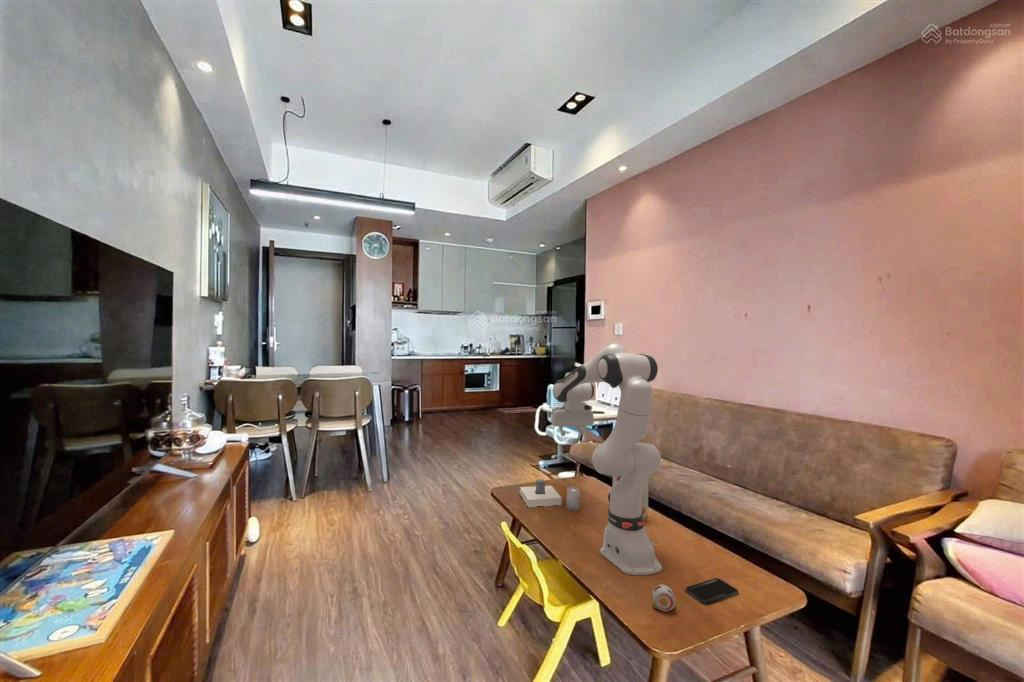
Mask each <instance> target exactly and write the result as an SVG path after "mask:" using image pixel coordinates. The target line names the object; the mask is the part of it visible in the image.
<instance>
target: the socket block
mask: <svg viewBox="0 0 1024 682" xmlns="http://www.w3.org/2000/svg"><path fill="white" fill-rule="evenodd" d="M520 494H521V495H520ZM519 495H520V497H521V496H522V497H521V498H523V499H522V500H523V502H524V501H525V502H524V503H526V504H525V506H526V507H527V506H528V507H527V508H538V507H537V506H544V507H554V506H553V505H559V506H562V502H563V501H562V499H563V497H562V496H561V495H560V494H559V493H558V491H556V489H555V488H554V487H553V486H552V485H545V494H536V485H535V486H519Z"/></svg>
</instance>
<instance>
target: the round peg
mask: <svg viewBox="0 0 1024 682" xmlns="http://www.w3.org/2000/svg"><path fill="white" fill-rule="evenodd" d="M566 509H567V510H568V509H569V510H568V511H570V510H572V511H571V512H577V511H579V510H580V488H579V487H578V486H573V485H572V486H567V487H566ZM576 510H577V511H576Z"/></svg>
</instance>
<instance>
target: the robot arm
mask: <svg viewBox="0 0 1024 682" xmlns="http://www.w3.org/2000/svg"><path fill="white" fill-rule="evenodd" d="M658 370H659V369H658V363H657V361H656V359H655V358H654V357H653V356H651V355H649V354H644V353H629V352H628V351H627V349H626V348H625V347H624V345H621V344H619V343H609V344H608V345H607V346H605V347H603V348H602V349H601V350H600V351H598V352H597V354H596V355H594V357H592V358H591V359H590V360H588V361H587V362H585V363H583V364H582V365H581V364H580V365H579V366H578V367H576V368H575V369H573V370H572V371H567V372H566V373H565V375H564V377H563V378H562V379H558V380H556V382H554V385H553V386H552V395H553V398H555V399H556V400H557V402H559V403H563V405H559V406H557V405H555V406H554V407H552V408H551V425H552V426H553V427H558V429H559V431H560V435H561V437H565V436H566V432H565V431H564V430H563V429H564V427H580V426H581V430H579V435H580V436H584V435H585V431H586V429H587V426H588V427H589V426H593V425H594V423H595V421H594V420H595V418H594V412H593V411H592V410H593V406H592V405H591V404H587V403H586V402H588V401H591V400H592V399H593V397H594V395H595V386H594V385H593V383H606V384H608V385H609V386H610V387H611V388H613V389H616V388H617V387H618V388H619V390H620V398H619V404H618V409H617V415H616V420H615V425H614V426H613V429H612V431H611V433H609V436H608V437H607V438H606V439H605V440H604V442H602V443H601V444H600V445H598V446H596V447H595V449H594V450H593V452H592V457H591V458H592V464H593V467H594V469H595V470H596V472H597V473H599V474H600V475H604V476H612V477H613V476H614V475H623V476H622V477H621V479H620V480H619V481H618V482H617V483H615V484H614V485H613V484H612V486H611V488H610V490H609V493H610V502H609V508H608V512H607V521H608V522H607V525H606V527H605V528H604V531H603V532H604V533H603V543H602V547H600V549H599V554H600V555H602V556H603V557H604V558H606V559H607V560H608V561H609V562H610V563H612V564H613V565H614V566H615V567H616V566H617V567H616V568H618V569H619V570H620V571H621V572H623V573H624V574H626V575H632V576H648V575H649V576H650V575H653V574H657V573H658V574H659V573H660V572H661V571H663V566H662V564H661V563H660V562H659V560H658V559H657V557H656V555H655V548H656V545H655V542H654V541H653V540H651V539H650V538H649V533H648V532H646V529H645V522H643V521H644V520H643V516H642V513H641V505H642V494H643V490H644V487H645V485H646V482H647V481H648V482H649V478H650V477H651V476H652V475H653V474H654V473H655V472H656V471H658V469H659V467H660V465H661V462H662V461H661V460H662V456H661V453H660V451H659V450H658V448H657V447H656V446H655V445H654V444H651V443H646V442H638V441H639V440H641V439H642V438H644V437H645V436H646V435H647V434H648V431H649V425H650V421H651V415H652V409H653V386H652V385H651V383H650V382H653V381H654V380H655V379H656V378H657V374H658Z"/></svg>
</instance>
